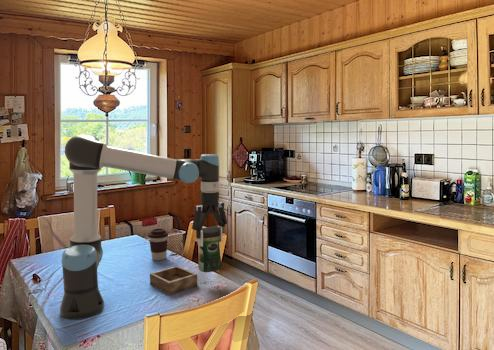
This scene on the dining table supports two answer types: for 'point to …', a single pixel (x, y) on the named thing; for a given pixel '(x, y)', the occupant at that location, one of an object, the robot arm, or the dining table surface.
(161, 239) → the coffee cup
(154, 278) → the walnut caddy
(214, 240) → the coffee jar
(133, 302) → the dining table surface
